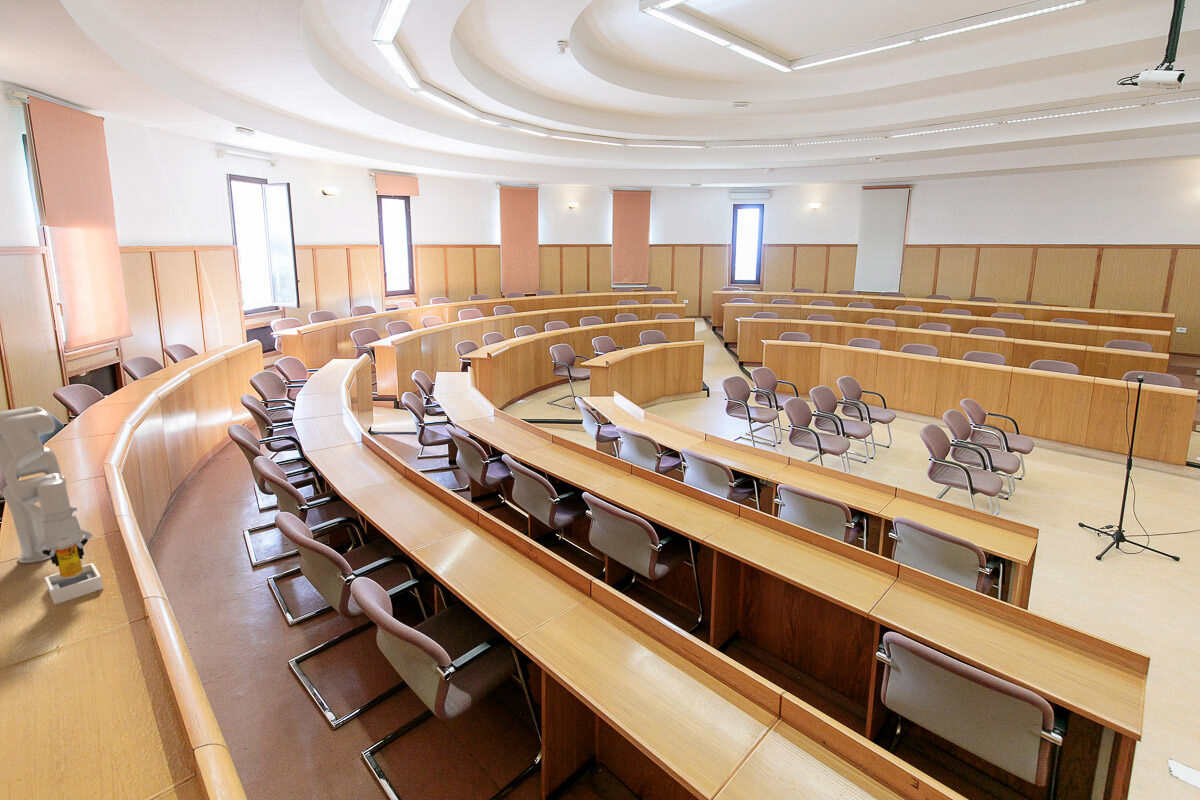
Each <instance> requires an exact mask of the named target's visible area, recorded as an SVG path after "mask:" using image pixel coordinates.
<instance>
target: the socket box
mask: <svg viewBox="0 0 1200 800" xmlns="http://www.w3.org/2000/svg"><path fill="white" fill-rule="evenodd" d="M82 569H83V571H82V572H81V574H80V575H78V576H76V577H73V578H69V579H65V578H63V577H61V575H60V572H57V573H55V574H52V575H47V576H45V577H44V579H45V583H46V587H47V590H48V593H49V596H50V598H51V600H52V602H53V604H54V605H57V604H61V603H64V602H66V601H70V600H73V599H77V598H78V597H82V596H86V595H89V594H91V592H92V593H94V592H98V591H100V590H104V584H103V580H102V575H101V574H100V572H99V571H98V569H97V567H96V566H95V564H94V563H93V562H90V563H88V564H85V565H82ZM97 590H98V591H97Z"/></svg>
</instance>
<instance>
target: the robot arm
mask: <svg viewBox="0 0 1200 800" xmlns="http://www.w3.org/2000/svg"><path fill="white" fill-rule="evenodd" d="M55 430H56V423H55V420H54V418H53V417H52V415H51V413H50V412H48V411H47V410H45V409H44V408H42V407H41V406H37V405H33V406H32V405H31V406H25V407H21V408H14V409H6V410H2V411H1V410H0V469H1V472H2V473H3V474H2V475H3V476H4V478H5V483H6V486H5V487H4V488H3V490H2V495H3V499H4V501H5V502H6V504H7V507H8V509H9V511H10V513H11V514H10V515H11V516H12V520H13V524H14V527H15V532H16V535H17V539H18V543H19V547H20V550H21V554H19V556H18V557H17V561H18V562H19V563H20V564H33V563H39V562H43V561H47V560H48V559H50V561H51V564H53V565H55V567H58V565H59V564H58V560H57V556H56V555H55V550H56V549H55V548H57V543H58V542H59V540H64V539H67V538H70V539H73V541H74V543H76V545H77V548H78V552H79V557H80V560H83V556H85V551H84V546H85V545H86V544H87V543H88V541H90V539H91V538H92V536H93V534H92V533H91V532H89V531H86V530H84V529H82V528H81V525H80V522H79V519H78V517H77V515H76V513H75V512H77V511H78V508H77V506H73V507H72V506H71V503H70V499H69V498H70V497H69V495H68V489H67V481H66V477H65V476H64V475H62V472H61V469H60V466H59V462H58V461H59V460H58V458H57V455H56V454H55V452H54V451H53V450H52V449H51V448H50V447H46V446H45V447H44V445H43V443H42V441H41V440H40V437H39V436H42V435H47V434H52V433H53V432H54V431H55ZM41 473H42V474H44V475H40V476H34V477H30V478H25V479H21V480H19V479H20V478H24V477H29V476H33V475H37V474H41ZM37 503H39V504H40V506H39V505H37Z"/></svg>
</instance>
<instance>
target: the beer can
mask: <svg viewBox="0 0 1200 800" xmlns="http://www.w3.org/2000/svg"><path fill="white" fill-rule="evenodd" d="M55 549H56V550H55V555H56V556H57V560H58V564H59V565H58V566H57V567H58V570H59V573H60V575H61V577H63V578H65V579H69V578H73V577H76V576H78V575H80V574H81V572H82V571H83V569H82V566H83V565H82V561H81V560H82V559H80V557H79V552H78V548H77V545H76V543H74V541H73V539H70V538H67V539H64V540H59V542H58V543H57V548H55Z"/></svg>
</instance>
